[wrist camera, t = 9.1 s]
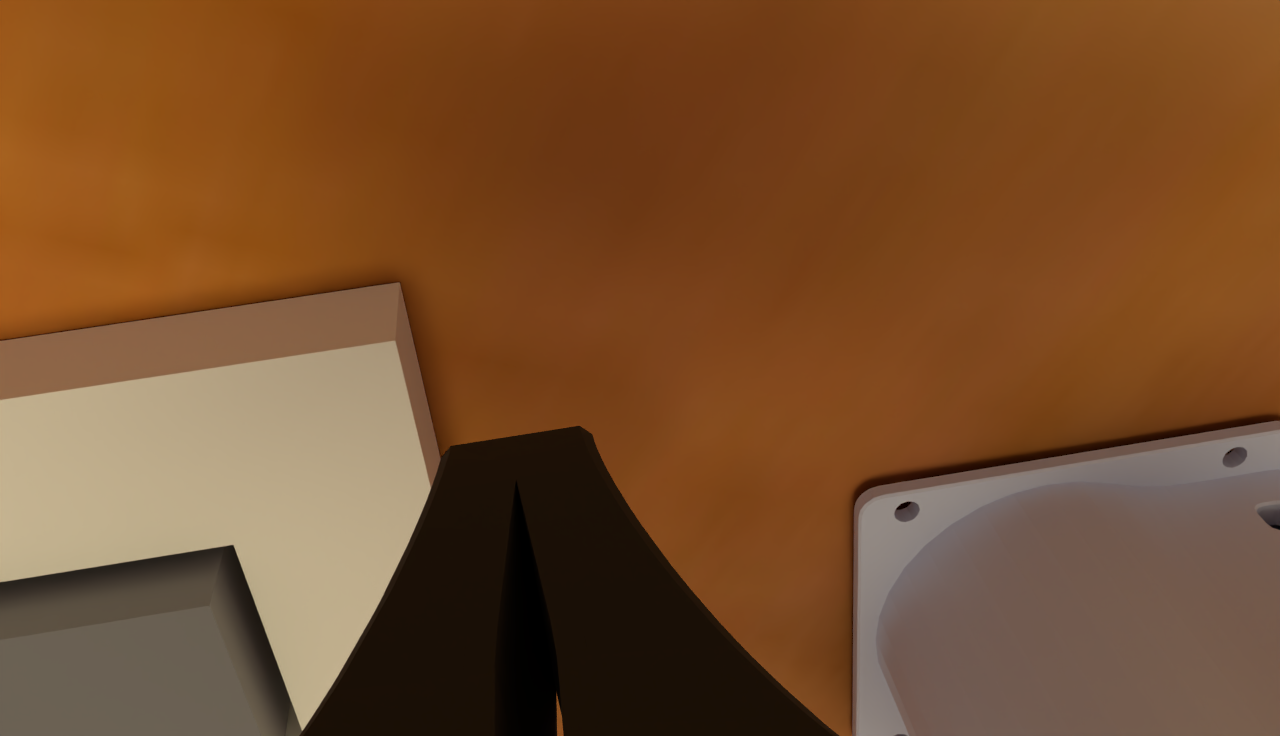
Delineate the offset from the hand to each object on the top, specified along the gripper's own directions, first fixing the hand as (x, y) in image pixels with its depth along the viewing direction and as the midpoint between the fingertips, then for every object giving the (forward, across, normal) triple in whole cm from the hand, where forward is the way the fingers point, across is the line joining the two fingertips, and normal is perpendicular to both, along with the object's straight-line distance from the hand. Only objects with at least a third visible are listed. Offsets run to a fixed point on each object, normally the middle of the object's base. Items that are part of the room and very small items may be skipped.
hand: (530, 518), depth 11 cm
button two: (+9, +8, +8) cm, 15 cm away
